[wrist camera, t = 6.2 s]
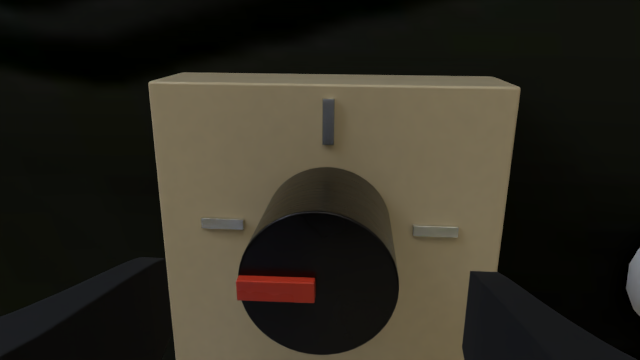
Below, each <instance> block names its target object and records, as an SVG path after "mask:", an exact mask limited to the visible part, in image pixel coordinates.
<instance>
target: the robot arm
mask: <svg viewBox="0 0 640 360" xmlns="http://www.w3.org/2000/svg"><path fill="white" fill-rule="evenodd" d="M171 334H172V322H171V312H170V302H169V292H168V282H167V272H166V261H165V258H144V257H140V258H137V259H134V260H131V261H128V262H126V263H123V264H121V265H119V266H117V267H114V268H112V269H110V270H108V271H106V272H103V273H101V274H99V275H97V276H95V277H93V278H90V279H88V280H86V281H84V282H82V283H80V284H78V285H75V286H73V287H71V288H69V289H67V290H65V291H62V292H60V293H58V294H55V295H53V296H51V297H48V298H46V299H43V300H41V301H39V302H36V303H34V304H32V305H29V306H27V307H25V308H22V309H20V310H17V311H15V312H12V313H10V314H7V315H4V316H2V317H0V360H161V359H162V357H163V354H164V352H165V350H166V347H167V345H168V342H169V339H170V337H171ZM462 350H463V355H464V360H637V359H635V358H633V357H631V356H629V355H627V354H625V353H624V352H622V351H620V350H618V349H616V348H614V347H612V346H611V345H609V344H607V343H605V342H604V341H602V340H600V339H598V338H597V337H595V336H594V335H592V334H590V333H589V332H587V331H585V330H584V329H582V328H580V327H579V326H577V325H576V324H574V323H572V322H571V321H569V320H568V319H566V318H565V317H563V316H562V315H560V314H559V313H557V312H556V311H554V310H553V309H551V308H550V307H548V306H547V305H546V304H544V303H543V302H541V301H540V300H538V299H537V298H536V297H534V296H533V295H531V294H530V293H528V292H527V291H526V290H524V289H523V288H521V287H520V286H519V285H517V284H516V283H514V282H513V281H511V280H510V279H508V278H507V277H505V276H504V275H502V274H500V273H498V272H485V271H470V277H469V286H468V296H467V305H466V314H465V323H464V333H463V342H462Z"/></svg>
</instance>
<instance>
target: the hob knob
mask: <svg viewBox="0 0 640 360" xmlns="http://www.w3.org/2000/svg"><path fill="white" fill-rule="evenodd" d="M236 291H237V300H240V301H242V304H243V306H244V308H245V310H246V312H247V314H248V316H249V317H250V319H251V320H252V321H253V323H254V324H255V325H256V326H257V327H258V328H259V329H260V330H261V331H262V332H263V333H264V334H265V335H266V336H267V337H269V338H270V339H271V340H273V341H275V342H276V343H278V344H280V345H282V346H284V347H286V348H288V349H291V350H294V351H297V352H301V353H306V354H313V355H331V354H339V353H343V352H347V351H350V350H353V349H355V348H358V347H360V346H361V345H363V344H365V343H367V342H368V341H370V340H371V339H373V338H374V337H375V336H376V335H377V334H378V333H379V332H380V331H381V330H382V329H383V328H384V327H385V325H386V324H387V323H388V321H389V320H390V318H391V316H392V314H393V312H394V310H395V308H396V304H397V300H398V295H399V276H398V269H397V263H396V256H395V249H394V243H393V236H392V229H391V223H390V217H389V212H388V209H387V206H386V204H385V202H384V200H383V198H382V197H381V195H380V194H379V192H378V191H377V190H376V189H375V188H374V187H373V186H372V185H371V184H370V183H369V182H368V181H367V180H365V179H364V178H362V177H360V176H359V175H357V174H355V173H353V172H350V171H347V170H344V169H339V168H333V167H319V168H313V169H309V170H305V171H302V172H300V173H298V174H296V175H294V176H292V177H291V178H289V179H288V180H287V181H285V182H284V183H283V184H282V185H281V186H280V187H279V188H278V189H277V191H276V192H275V194H274V195H273V197H272V198H271V200H270V202H269V204H268V206H267V208H266V210H265V212H264V214H263V216H262V218H261V220H260V222H259V224H258V226H257V228H256V230H255V232H254V233H253V235H252V237H251V239H250V241H249V243H248V245H247V247H246V249H245V251H244V253H243V255H242V258H241V261H240V265H239V271H238V278H237V280H236Z"/></svg>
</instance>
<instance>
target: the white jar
mask: <svg viewBox="0 0 640 360" xmlns="http://www.w3.org/2000/svg"><path fill="white" fill-rule="evenodd" d="M626 290H627V293H628V296H629V298H630V301H631V304H632V307H633V310H634V311H635V312H636V313H637V314H638V315H639V316H640V248H639V249H638V251H637V252H636V254H635V256H634V257H633V259H632V261H631V262H630V264H629V269H628V276H627V284H626Z"/></svg>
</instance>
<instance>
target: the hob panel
mask: <svg viewBox="0 0 640 360" xmlns="http://www.w3.org/2000/svg"><path fill="white" fill-rule="evenodd" d="M148 85H149V95H150V105H151V115H152V125H153V135H154V145H155V155H156V165H157V175H158V185H159V195H160V205H161V215H162V225H163V235H164V245H165V255H166V265H167V275H168V285H169V295H170V305H171V315H172V325H173V335H174V345H175V355H176V360H464V355H463V350H462V342H463V333H464V323H465V314H466V305H467V296H468V286H469V277H470V271H485V272H497V268H498V261H499V253H500V245H501V237H502V230H503V222H504V214H505V206H506V199H507V191H508V183H509V175H510V168H511V160H512V152H513V144H514V137H515V129H516V121H517V113H518V106H519V98H520V87H518V86H515V85H513V84H510V83H508V82H505V81H502V80H500V79H497V78H495V77H487V76H411V75H336V74H261V73H186V72H183V73H179V74H176V75H172V76H168V77H164V78H161V79H157V80H153V81H150V82H149V84H148ZM319 167H333V168H339V169H344V170H347V171H350V172H353V173H355V174H357V175H359V176H360V177H362V178H364V179H365V180H367V181H368V182H369V183H370V184H371V185H372V186H373V187H374V188H375V189H376V190H377V191H378V192H379V194H380V195H381V197H382V198H383V200H384V202H385V204H386V206H387V209H388V212H389V217H390V223H391V229H392V236H393V243H394V249H395V256H396V263H397V269H398V276H399V295H398V300H397V304H396V308H395V310H394V312H393V314H392V316H391V318H390V320H389V321H388V323H387V324H386V325H385V327H384V328H383V329H382V330H381V331H380V332H379V333H378V334H377V335H376V336H375V337H374V338H373V339H371V340H370V341H368V342H367V343H365V344H363V345H361V346H360V347H358V348H355V349H353V350H350V351H347V352H343V353H339V354H331V355H313V354H306V353H301V352H297V351H294V350H291V349H288V348H286V347H284V346H282V345H280V344H278V343H276V342H275V341H273V340H271V339H270V338H269V337H267V336H266V335H265V334H264V333H263V332H262V331H261V330H260V329H259V328H258V327H257V326H256V325H255V324H254V323H253V321H252V320H251V319H250V317H249V316H248V314H247V312H246V310H245V308H244V306H243V304H242V301H240V300H237V291H236V280H237V278H238V271H239V265H240V261H241V258H242V255H243V253H244V251H245V249H246V247H247V245H248V243H249V241H250V239H251V237H252V235H253V233H254V232H255V230H256V228H257V226H258V224H259V222H260V220H261V218H262V216H263V214H264V212H265V210H266V208H267V206H268V204H269V202H270V200H271V198H272V197H273V195H274V194H275V192H276V191H277V189H278V188H279V187H280V186H281V185H282V184H283V183H284V182H285V181H287V180H288V179H289V178H291V177H292V176H294V175H296V174H298V173H300V172H302V171H305V170H309V169H313V168H319Z"/></svg>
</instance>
